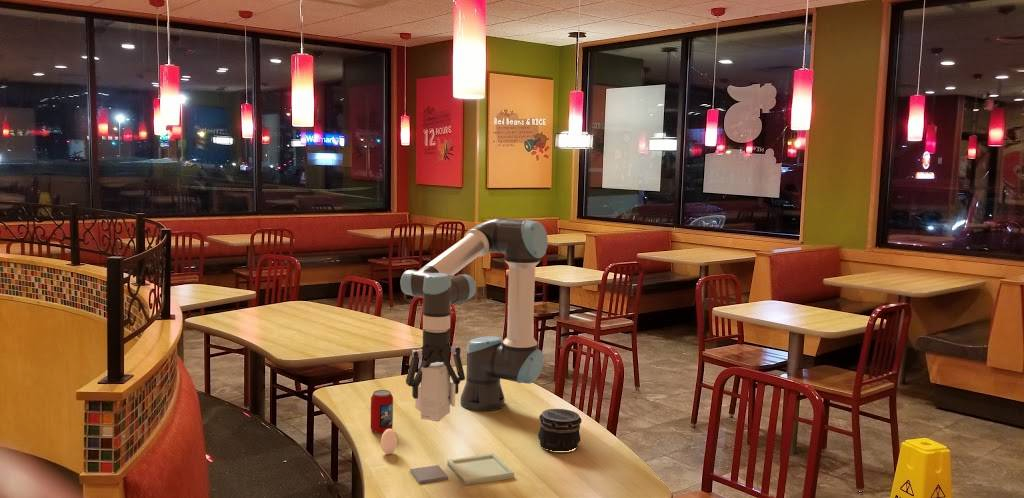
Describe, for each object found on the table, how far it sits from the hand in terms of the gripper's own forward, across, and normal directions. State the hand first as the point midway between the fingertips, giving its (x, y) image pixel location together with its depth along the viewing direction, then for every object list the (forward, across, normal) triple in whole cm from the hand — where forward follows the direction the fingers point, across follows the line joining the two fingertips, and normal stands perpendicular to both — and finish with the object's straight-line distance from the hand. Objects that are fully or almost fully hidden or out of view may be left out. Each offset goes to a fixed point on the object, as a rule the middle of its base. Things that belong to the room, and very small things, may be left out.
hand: (435, 406), depth 223 cm
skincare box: (+3, 0, 0) cm, 3 cm away
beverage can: (+15, +8, -26) cm, 31 cm away
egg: (+15, +12, -7) cm, 20 cm away
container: (+16, -38, +4) cm, 41 cm away
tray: (+15, -8, +13) cm, 22 cm away
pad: (+15, +6, +11) cm, 19 cm away
